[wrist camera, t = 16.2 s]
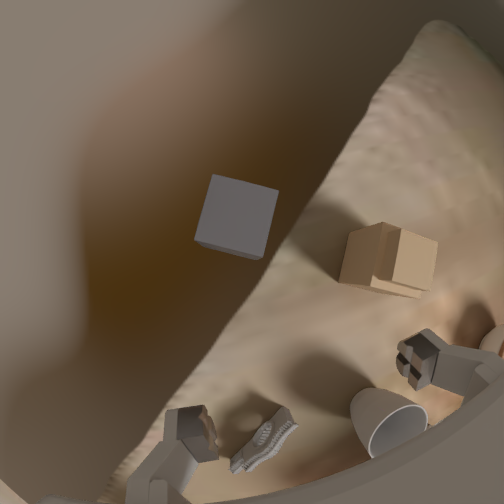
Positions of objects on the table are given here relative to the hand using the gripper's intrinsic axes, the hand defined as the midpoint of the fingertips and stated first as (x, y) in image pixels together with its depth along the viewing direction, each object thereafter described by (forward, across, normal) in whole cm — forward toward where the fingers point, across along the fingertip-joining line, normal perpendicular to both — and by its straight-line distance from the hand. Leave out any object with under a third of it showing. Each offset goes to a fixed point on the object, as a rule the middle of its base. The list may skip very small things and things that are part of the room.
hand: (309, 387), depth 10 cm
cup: (+16, +11, -25) cm, 32 cm away
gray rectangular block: (+26, 0, +1) cm, 26 cm away
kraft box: (+22, +15, -7) cm, 28 cm away
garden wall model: (+16, -4, -25) cm, 30 cm away
